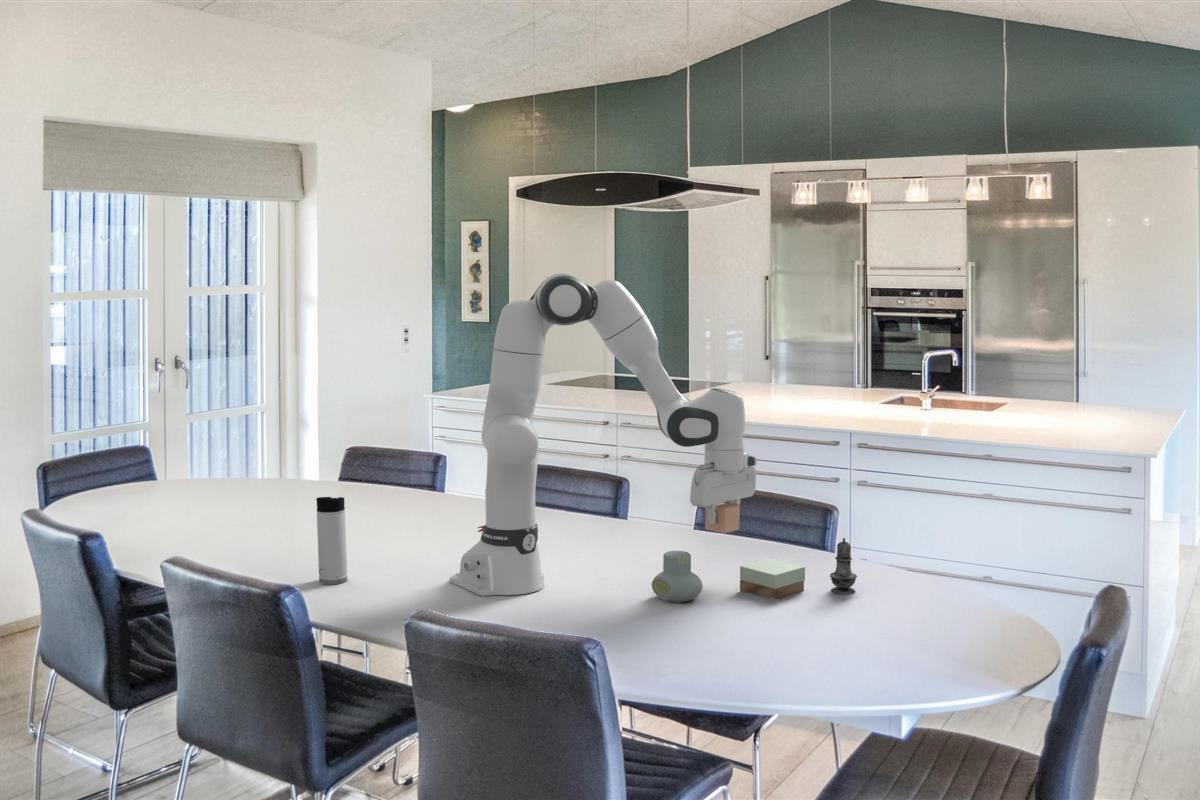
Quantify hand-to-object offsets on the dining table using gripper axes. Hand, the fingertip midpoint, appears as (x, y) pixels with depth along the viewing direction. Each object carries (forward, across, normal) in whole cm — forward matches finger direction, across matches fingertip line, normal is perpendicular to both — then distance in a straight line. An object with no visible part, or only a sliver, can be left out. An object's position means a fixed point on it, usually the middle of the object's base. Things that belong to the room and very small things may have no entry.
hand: (722, 520), depth 261 cm
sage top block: (+11, +1, -14) cm, 17 cm away
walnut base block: (+14, +1, -14) cm, 20 cm away
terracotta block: (+2, 0, 0) cm, 2 cm away
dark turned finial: (+13, +11, -25) cm, 31 cm away
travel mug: (+16, -60, +66) cm, 90 cm away
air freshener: (+14, -18, -2) cm, 23 cm away
